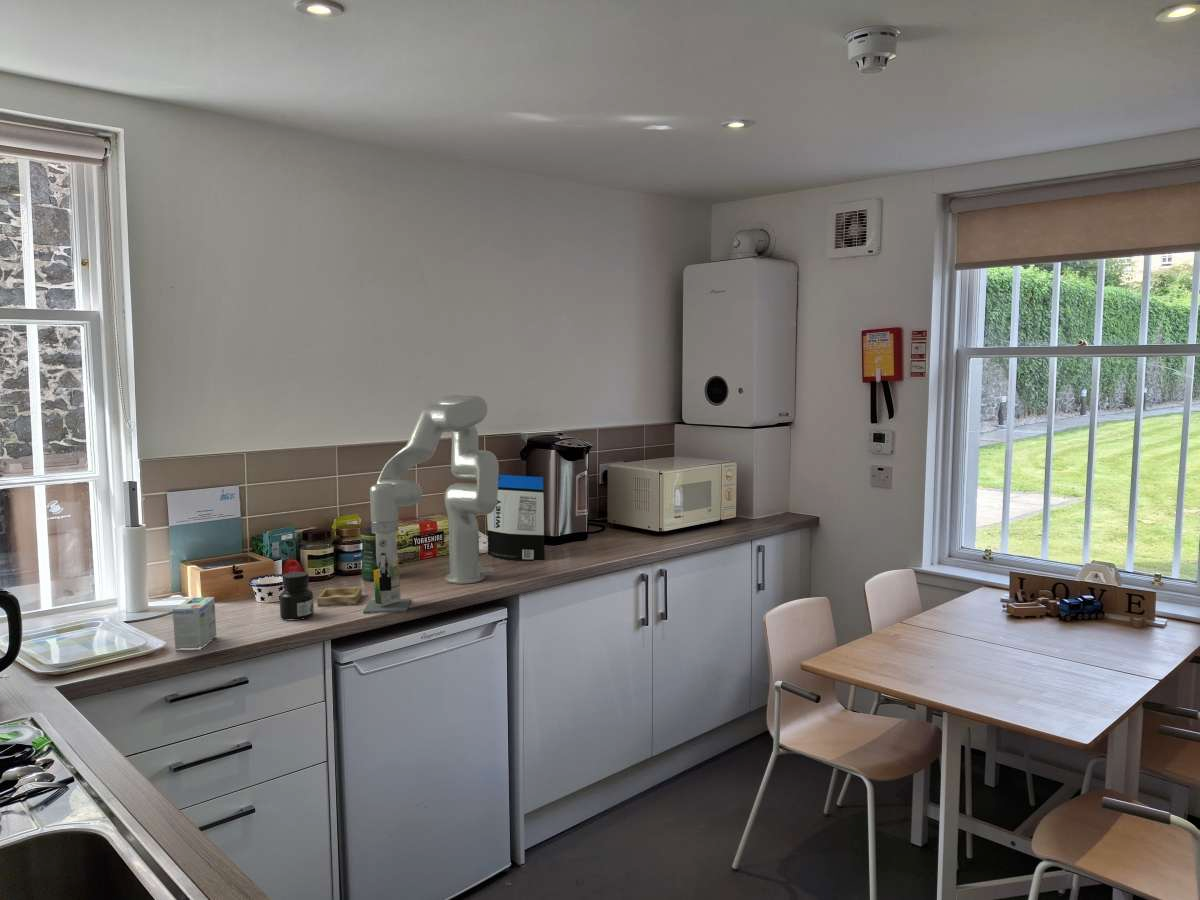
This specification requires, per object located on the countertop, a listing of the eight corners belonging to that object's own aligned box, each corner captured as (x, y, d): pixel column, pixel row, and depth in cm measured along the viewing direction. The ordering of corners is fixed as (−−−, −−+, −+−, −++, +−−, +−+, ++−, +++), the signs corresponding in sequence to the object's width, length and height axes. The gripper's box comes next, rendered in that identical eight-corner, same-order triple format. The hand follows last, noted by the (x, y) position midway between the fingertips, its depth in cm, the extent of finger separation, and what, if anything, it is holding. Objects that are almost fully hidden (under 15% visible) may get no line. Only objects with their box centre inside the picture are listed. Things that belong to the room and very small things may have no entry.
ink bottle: (306, 621, 236) (304, 578, 235) (274, 621, 236) (272, 579, 235) (319, 611, 246) (317, 570, 245) (288, 611, 246) (286, 570, 245)
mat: (410, 600, 256) (410, 598, 256) (406, 611, 244) (406, 609, 244) (369, 602, 255) (369, 600, 255) (363, 613, 243) (363, 611, 243)
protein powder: (537, 563, 303) (536, 478, 300) (480, 557, 313) (478, 475, 311) (551, 558, 311) (549, 475, 308) (495, 552, 322) (493, 472, 319)
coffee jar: (375, 582, 278) (373, 526, 276) (357, 580, 282) (355, 524, 280) (396, 576, 287) (394, 521, 285) (378, 573, 290) (376, 519, 289)
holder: (361, 595, 263) (361, 587, 263) (356, 604, 252) (355, 596, 252) (325, 596, 262) (324, 588, 261) (317, 606, 251) (317, 598, 251)
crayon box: (394, 597, 253) (392, 558, 252) (401, 598, 252) (399, 559, 251) (374, 603, 248) (372, 563, 246) (381, 604, 246) (379, 564, 245)
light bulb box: (190, 638, 223) (188, 597, 222) (217, 637, 224) (215, 596, 223) (174, 651, 212) (171, 608, 211) (202, 650, 213) (199, 607, 212)
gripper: (394, 531, 239) (397, 594, 241) (401, 520, 256) (403, 579, 258) (366, 533, 238) (369, 595, 240) (375, 521, 256) (378, 580, 257)
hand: (387, 586), depth 249 cm, fingers closed on crayon box, 7 cm apart
